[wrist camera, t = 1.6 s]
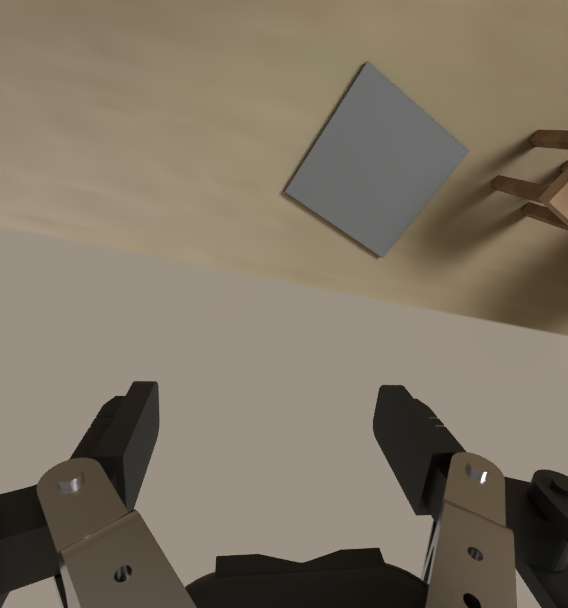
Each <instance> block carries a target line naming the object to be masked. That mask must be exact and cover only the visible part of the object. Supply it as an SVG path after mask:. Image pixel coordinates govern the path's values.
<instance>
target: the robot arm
mask: <svg viewBox="0 0 568 608" xmlns="http://www.w3.org/2000/svg"><path fill="white" fill-rule="evenodd" d="M158 431H159V394H158V383H157V382H153V381H147V382H146V381H134V382H133V383H132V386H131V387H130V389H129V391H128V393H127V394H126V396H115V397H114V398H113V399H111V400H110V401H108V402H107V403H106V404H104V405H103V406H102V408H101V410H100V411H99V413H98V415H97V416H96V418H95V419H94V421H93V422H92V424H91V427H90V428H89V429H88V431H87V432H86V434H85V435H84V437H83V439H82V440H81V442H80V443H79V445H78V446H77V448H76V450H75V451H74V453H73V454H72V456H71V458H70V459H69V460H67V461H65V462H62V463H60V464H58V465H56V466H54V467H52V468H51V469H50V470H48V471H47V472H46V473H45V474H44V475H43V476H42V477H41V479H40V480H39V482H38V484H36V485H34V486H31V487H27V488H24V489H20V490H15V491H12V492H8V493H3V494H0V608H1V607H2V605H3V603H4V602H5V599H6V597H7V596H8V594H9V592H10V591H12V590H15V589H18V588H21V587H24V586H26V585H29V584H32V583H35V582H38V581H41V580H43V579H46V578H49V577H52V578H53V581H54V585H55V588H56V591H57V594H58V598H59V601H60V604H61V607H62V608H517V600H516V577H515V568H516V569H517V571H518V573H519V574H520V576H521V577H522V579H523V580H524V582H525V583H526V585H527V586H528V588H529V589H530V591H531V592H532V594H533V595H534V597H535V598H536V600H537V602H538V603H539V604H540V606H541V608H568V476H565V475H563V474H561V473H558V472H555V471H551V470H538V471H536V472H535V473H534V475H533V478H532V480H531V483H530V482H525V481H521V480H517V479H512V478H508V477H504V476H503V474H502V472H501V471H500V470H499V468H498V467H497V466H496V465H494V464H493V463H492V462H490V461H489V460H487V459H485V458H483V457H481V456H479V455H476V454H473V453H468V452H466V451H465V450H464V449H463V447H462V446H461V445H460V444H459V442H458V441H457V440H456V439H455V438H454V437H453V435H452V434H451V433H450V432H449V430H448V429H447V428H446V427H444V424H443V423H442V422H441V421H440V420H439V419H437V416H436V415H435V414H434V412H433V411H432V410H431V409H430V408H429V407H428V406H427V405H425V404H424V403H422V402H421V401H419V400H418V399H413V397H412V396H411V395H410V394H409V392H408V391H407V390H406V389H405V387H404V386H402V385H382V386H381V387H380V389H379V393H378V398H377V403H376V408H375V413H374V419H373V431H374V435H375V438H376V440H377V442H378V444H379V445H380V447H381V449H382V451H383V453H384V455H385V457H386V459H387V461H388V463H389V465H390V467H391V468H392V470H393V472H394V474H395V476H396V478H397V480H398V482H399V484H400V485H401V487H402V489H403V491H404V493H405V495H406V497H407V499H408V501H409V503H410V504H411V506H412V508H413V510H414V512H415V514H416V515H431V516H432V518H433V519H434V521H433V524H432V528H431V532H430V537H429V541H428V546H427V551H426V555H425V560H424V565H423V570H422V574H421V579H420V578H418V577H416V576H415V575H413V574H411V573H410V572H408V571H406V570H403V569H401V568H399V567H396V566H393V565H391V564H387V563H385V562H384V560H383V557H382V554H381V552H380V549H379V548H366V549H348V550H347V549H346V550H339V551H336V552H333V553H330V554H328V555H325V556H322V557H319V558H316V559H313V560H311V561H307V562H304V563H298V562H293V561H289V560H284V559H279V558H275V557H269V556H265V555H260V554H250V555H231V556H217V557H216V570H215V572H213V573H210V574H207V575H205V576H203V577H201V578H199V579H197V580H195V581H194V582H192V583H191V584H189V585H187V586H186V587H184V586H183V584H182V582H181V581H180V579H179V578H178V576H177V574H176V573H175V571H174V569H173V568H172V566H171V564H170V563H169V561H168V560H167V558H166V556H165V554H164V553H163V551H162V550H161V548H160V546H159V545H158V543H157V541H156V540H155V538H154V536H153V535H152V533H151V532H150V530H149V528H148V527H147V525H146V523H145V522H144V520H143V518H142V517H141V515H140V514H139V513H138V511H137V510H135V509H134V506H135V503H136V500H137V497H138V494H139V491H140V488H141V485H142V482H143V479H144V476H145V473H146V470H147V467H148V464H149V461H150V458H151V455H152V452H153V449H154V446H155V443H156V440H157V437H158Z"/></svg>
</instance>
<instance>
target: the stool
mask: <svg viewBox="0 0 568 608" xmlns="http://www.w3.org/2000/svg"><path fill="white" fill-rule="evenodd" d="M530 141H531V142H532V143H533V144H534V145H535V146H536V147H545V148H556V149H568V131H563V130H537V132H536V133H535V134H534V135H533V136H532V137H531V139H530ZM560 170H561V171H562V172H563V173H562V174H561V175H560V176H559V177H558V178H557V179H556V180H555V181H554V182H553V183H552V184H551V185H550V186H545V185H541V184H536V183H532V182H527V181H523V180H518V179H513V178H509V177H504V176H500V175H499V176H498V177H497V178H496V179H495V180H494V181H493V183H492V184H491V185H492V186H493V187H494V188H495V189H496V190H498V191H501V192H505V193H508V194H512V195H515V196H519V197H522V198H526V199H529V200H533V201H536V202H540V203H543V204H544V205H545V206H546V207H544V206H540V205H537V204H534V203H530V202H529V203H528V204H527V205H526V206H525V207H524V208H523V209H522V212H523V213H524V214H525V215H527V216H528V217H531V218H534V219H537V220H539V221H542V222H545V223H548V224H551V225H554V226H556V227H559V228H562V229H565V230H568V161H567V162H566V163H565V164H564V165H563V166H562V167H561V168H560Z"/></svg>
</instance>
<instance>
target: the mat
mask: <svg viewBox="0 0 568 608" xmlns="http://www.w3.org/2000/svg"><path fill="white" fill-rule="evenodd" d="M468 152H469V150H468V149H467V148H466V147H464V146H463V145H462V144H461V143H460V142H459V141H458V140H457V139H455V138H454V137H453V136H452V135H451V134H450V133H449V132H447V131H446V130H445V129H444V128H443V127H442V126H441V125H440V124H438V123H437V122H436V121H435V120H434V119H433V118H432V117H431V116H429V115H428V114H427V113H426V112H425V111H424V110H423V109H421V108H420V107H419V106H418V105H417V104H416V103H415V102H414V101H412V100H411V99H410V98H409V97H408V96H407V95H406V94H404V93H403V92H402V91H401V90H400V89H399V88H398V87H397V86H395V85H394V84H393V83H392V82H391V81H390V80H389V79H388V78H386V77H385V76H384V75H383V74H382V73H381V72H380V71H378V70H377V69H376V68H375V67H374V66H373V65H372V64H371V63H369V62H368V61H367V62H366V64H365V65H364V67H363V68H362V70H361V71H360V73H359V75H358V76H357V78H356V79H355V81H354V82H353V84H352V86H351V87H350V89H349V90H348V92H347V93H346V95H345V97H344V98H343V100H342V101H341V103H340V105H339V106H338V108H337V109H336V111H335V112H334V114H333V116H332V117H331V119H330V120H329V122H328V123H327V125H326V127H325V128H324V130H323V131H322V133H321V135H320V136H319V138H318V139H317V141H316V142H315V144H314V146H313V147H312V149H311V150H310V152H309V153H308V155H307V157H306V158H305V160H304V161H303V163H302V165H301V166H300V168H299V169H298V171H297V172H296V174H295V176H294V177H293V179H292V180H291V182H290V183H289V185H288V187H287V188H286V190H285V192H286V193H287V194H289V195H290V196H292V197H293V198H295V199H296V200H298V201H299V202H301V203H302V204H303V205H305V206H306V207H308V208H309V209H311V210H312V211H314V212H315V213H317V214H318V215H320V216H321V217H323V218H324V219H326V220H327V221H329V222H330V223H332V224H333V225H335V226H336V227H338V228H339V229H341V230H342V231H343V232H345V233H346V234H348V235H349V236H351V237H352V238H354V239H355V240H357V241H358V242H360V243H361V244H363V245H364V246H366V247H367V248H369V249H370V250H372V251H373V252H375V253H376V254H378V255H379V256H380V257H382V258H383V257H384V256H385V255H386V253H387V252H388V251H389V250H390V248H391V247H392V246H393V245H394V243H395V242H396V241H397V240H398V239H399V237H400V236H401V235H402V234H403V232H404V231H405V230H406V229H407V227H408V226H409V225H410V224H411V222H412V221H413V220H414V219H415V218H416V216H417V215H418V214H419V213H420V211H421V210H422V209H423V208H424V206H425V205H426V204H427V203H428V201H429V200H430V199H431V198H432V197H433V195H434V194H435V193H436V192H437V190H438V189H439V188H440V187H441V185H442V184H443V183H444V182H445V180H446V179H447V178H448V177H449V176H450V174H451V173H452V172H453V171H454V169H455V168H456V167H457V166H458V164H459V163H460V162H461V161H462V159H463V158H464V157H465V156H466V155H467V153H468Z"/></svg>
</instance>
